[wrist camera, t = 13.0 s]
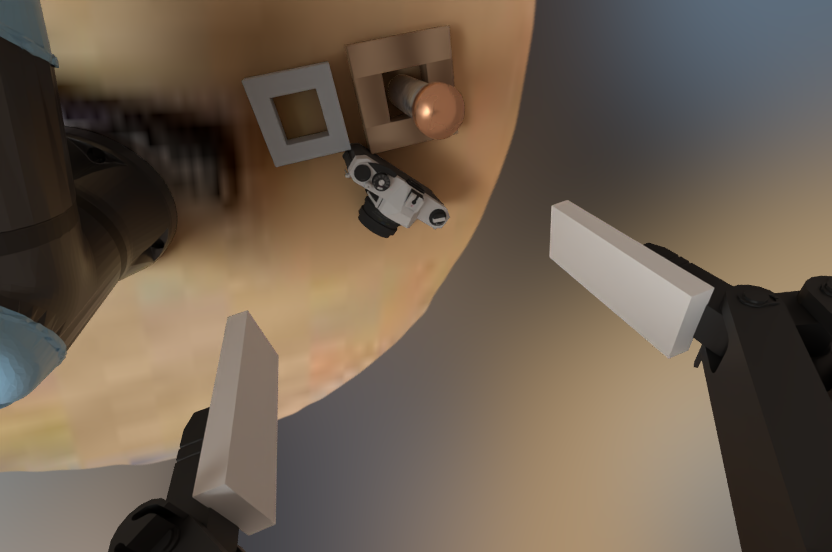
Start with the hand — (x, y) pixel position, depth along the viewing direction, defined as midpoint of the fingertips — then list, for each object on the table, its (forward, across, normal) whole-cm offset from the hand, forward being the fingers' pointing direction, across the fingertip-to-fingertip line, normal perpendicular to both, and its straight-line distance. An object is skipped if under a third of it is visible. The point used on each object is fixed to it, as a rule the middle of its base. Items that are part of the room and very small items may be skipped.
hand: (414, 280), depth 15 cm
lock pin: (+29, +8, +2) cm, 31 cm away
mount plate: (+30, -3, +2) cm, 30 cm away
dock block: (+29, +8, +2) cm, 31 cm away
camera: (+30, +3, -8) cm, 31 cm away
